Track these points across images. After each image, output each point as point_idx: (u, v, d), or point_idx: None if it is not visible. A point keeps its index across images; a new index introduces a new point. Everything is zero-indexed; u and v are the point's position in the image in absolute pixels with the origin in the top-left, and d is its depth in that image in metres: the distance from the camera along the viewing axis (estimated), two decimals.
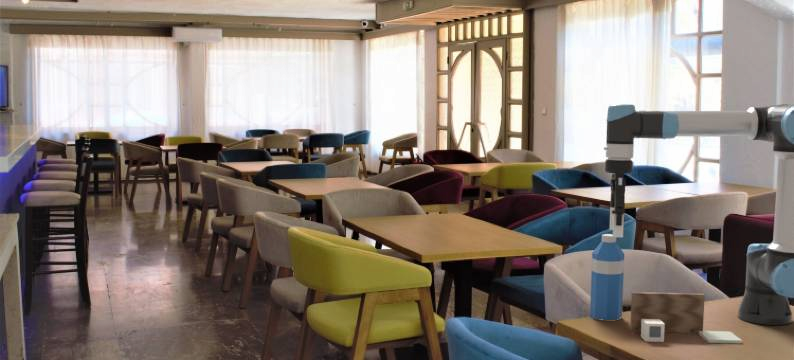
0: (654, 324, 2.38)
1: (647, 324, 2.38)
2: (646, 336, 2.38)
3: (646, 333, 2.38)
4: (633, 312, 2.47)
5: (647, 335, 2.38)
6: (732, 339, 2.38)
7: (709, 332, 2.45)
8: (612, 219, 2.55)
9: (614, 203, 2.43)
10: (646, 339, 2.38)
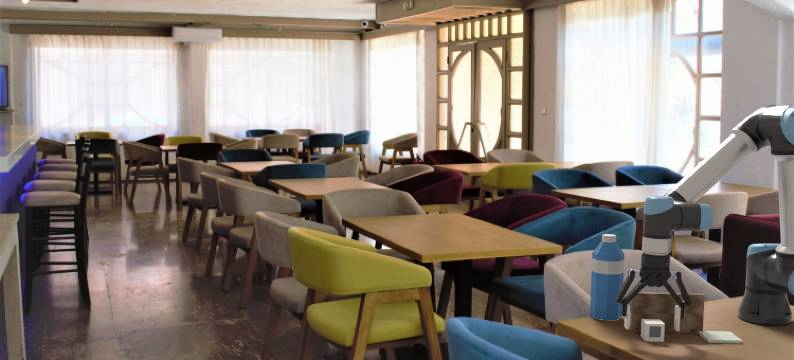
0: (654, 324, 2.38)
1: (647, 324, 2.38)
2: (646, 336, 2.38)
3: (646, 333, 2.38)
4: (633, 312, 2.47)
5: (647, 335, 2.38)
6: (732, 339, 2.38)
7: (709, 332, 2.45)
8: (675, 318, 2.40)
9: None
10: (646, 339, 2.38)
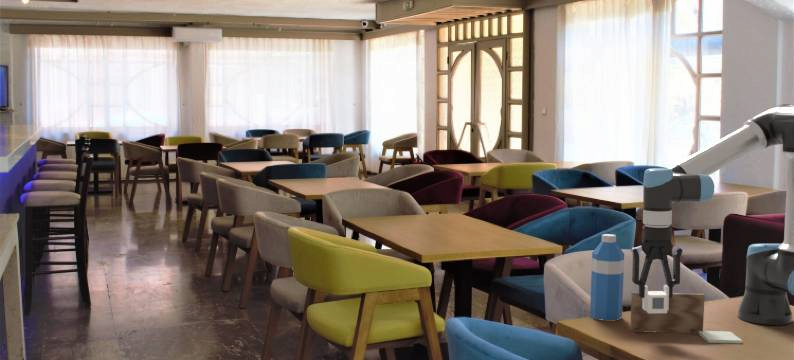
0: (657, 296, 2.37)
1: (650, 296, 2.37)
2: (649, 308, 2.37)
3: (649, 305, 2.37)
4: (633, 312, 2.47)
5: (650, 307, 2.37)
6: (732, 339, 2.38)
7: (709, 332, 2.45)
8: None
9: None
10: (649, 311, 2.37)
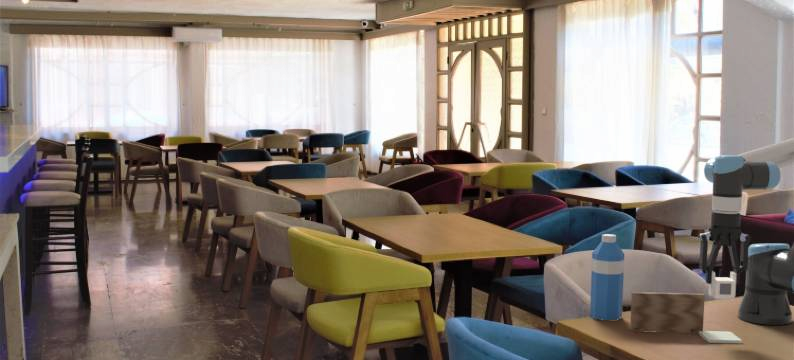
0: (724, 281, 2.38)
1: (717, 281, 2.38)
2: (716, 293, 2.38)
3: (716, 290, 2.38)
4: (633, 312, 2.47)
5: (717, 292, 2.38)
6: (732, 339, 2.38)
7: (709, 332, 2.45)
8: None
9: None
10: (716, 296, 2.38)
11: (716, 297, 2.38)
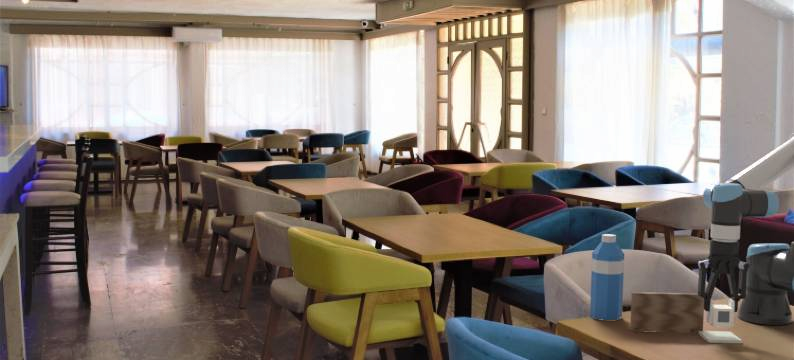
0: (723, 309, 2.39)
1: (716, 309, 2.39)
2: (715, 321, 2.39)
3: (715, 318, 2.39)
4: (633, 312, 2.47)
5: (716, 320, 2.39)
6: (732, 339, 2.38)
7: (709, 332, 2.45)
8: None
9: None
10: (715, 324, 2.39)
11: (714, 325, 2.39)
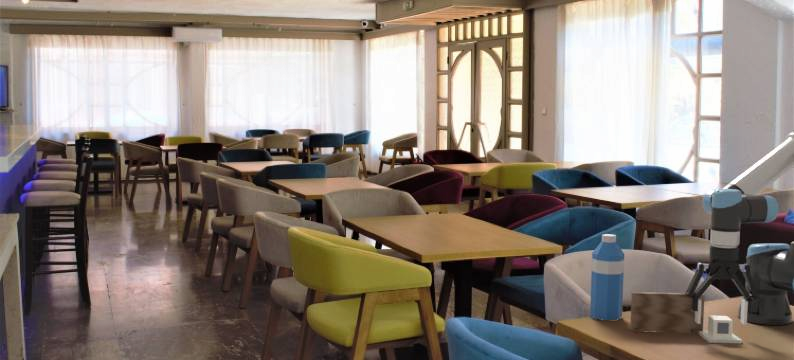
0: (722, 320, 2.39)
1: (715, 320, 2.39)
2: (714, 332, 2.39)
3: (714, 329, 2.39)
4: (633, 312, 2.47)
5: (715, 331, 2.39)
6: (732, 339, 2.38)
7: None
8: (741, 312, 2.42)
9: None
10: (714, 335, 2.39)
11: (714, 336, 2.40)
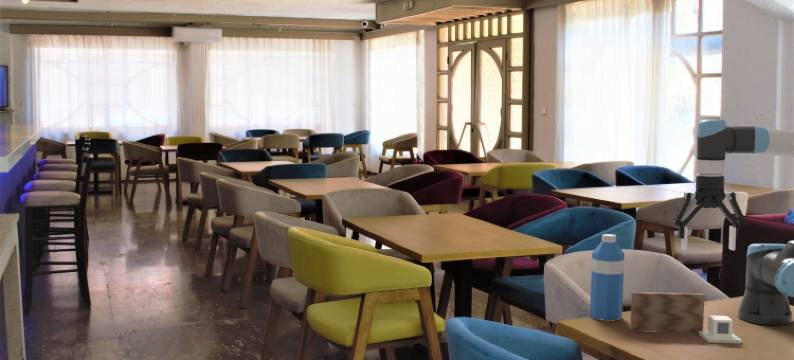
0: (722, 320, 2.39)
1: (715, 320, 2.39)
2: (714, 332, 2.39)
3: (714, 329, 2.39)
4: (633, 312, 2.47)
5: (715, 331, 2.39)
6: (732, 339, 2.38)
7: None
8: (730, 238, 2.47)
9: None
10: (714, 335, 2.39)
11: (714, 336, 2.40)
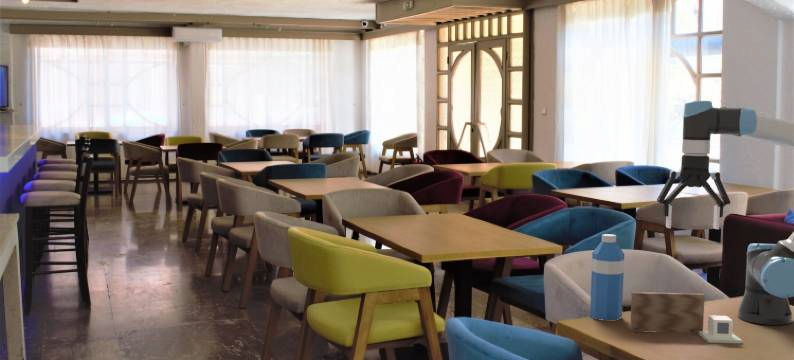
0: (722, 320, 2.39)
1: (715, 320, 2.39)
2: (714, 332, 2.39)
3: (714, 329, 2.39)
4: (633, 312, 2.47)
5: (715, 331, 2.39)
6: (732, 339, 2.38)
7: None
8: (714, 217, 2.53)
9: None
10: (714, 335, 2.39)
11: (714, 336, 2.40)
